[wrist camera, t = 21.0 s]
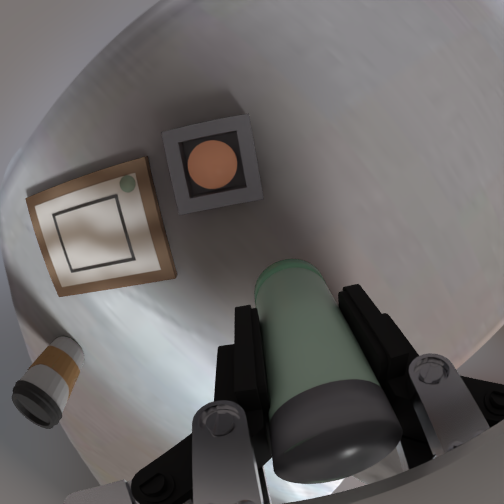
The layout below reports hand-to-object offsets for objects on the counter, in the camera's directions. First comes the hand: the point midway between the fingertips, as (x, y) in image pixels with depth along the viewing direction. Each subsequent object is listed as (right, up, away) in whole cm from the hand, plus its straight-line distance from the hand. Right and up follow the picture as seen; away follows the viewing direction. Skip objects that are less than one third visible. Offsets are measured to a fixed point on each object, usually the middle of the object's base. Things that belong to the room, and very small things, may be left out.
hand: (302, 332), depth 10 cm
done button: (-6, +12, +20) cm, 25 cm away
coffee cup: (-32, -14, +31) cm, 47 cm away
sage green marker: (0, +1, +2) cm, 3 cm away
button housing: (-6, +13, +22) cm, 26 cm away
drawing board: (-22, +5, +24) cm, 33 cm away
